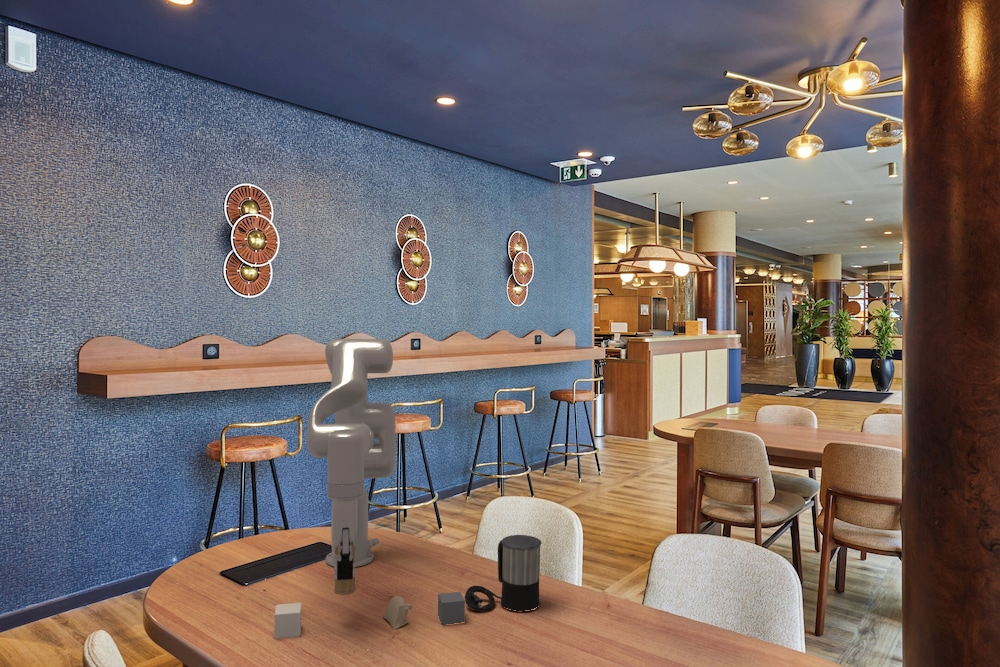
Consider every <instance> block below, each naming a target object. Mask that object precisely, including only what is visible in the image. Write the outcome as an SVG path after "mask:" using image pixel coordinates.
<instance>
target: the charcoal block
mask: <svg viewBox="0 0 1000 667" xmlns="http://www.w3.org/2000/svg"><path fill="white" fill-rule="evenodd" d="M465 607H466V602H465V597H464V596H463V594H462V591H455V592H453V591H452V592H443V593H442V592H441V593H437V617H438V616H439V618H438V620H439V619H440V620H439V623H440V622H441V623H440V626H441V625H445V626H447V625H446V624H454V623H461V622H466V621H465V620H466V619H465V616H466V615H465V612H466V609H465Z"/></svg>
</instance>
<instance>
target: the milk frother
mask: <svg viewBox="0 0 1000 667" xmlns="http://www.w3.org/2000/svg"><path fill="white" fill-rule="evenodd" d="M542 544H543V542H542V540H541V539H539V538H538V537H535V536H532V535H526V534H513V535H508V536H504V537H502V539H501V540H500V541H499V542H498V546H497V576H498V578H497V579H498V581H499V583H501V596H498V595H497V594H496V593H494V592H492V591H491V590H489V588H486V587H484V586H482V585H472V586H469V587H468V588H467V590H466V591H465V594H464V600H465V605H467V606H468V607H469V609H471V610H474V611H480V612H485V611H490V610H491V609H493V607H494V606H495V603H496V601H495V598H496V599H499V600H500V602H501V604H500V606H501V605H502V606H503V607H505V608H508V609H511V610H516V611H525V610H531V609H534V608H536V607H538V606H539V604H540V605H541V602H540V603H539V601H540V571H541V570H540V569H541V568H540V567H541V545H542ZM476 593H481V594H484V595H485V596H486V597H487V599H488V601H489V602H488V603H487V604H485V605H482V602H483V598H480V597H479V596H478V595H477V594H476ZM502 606H501V607H502ZM503 607H502V608H503ZM505 608H504V609H505Z"/></svg>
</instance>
